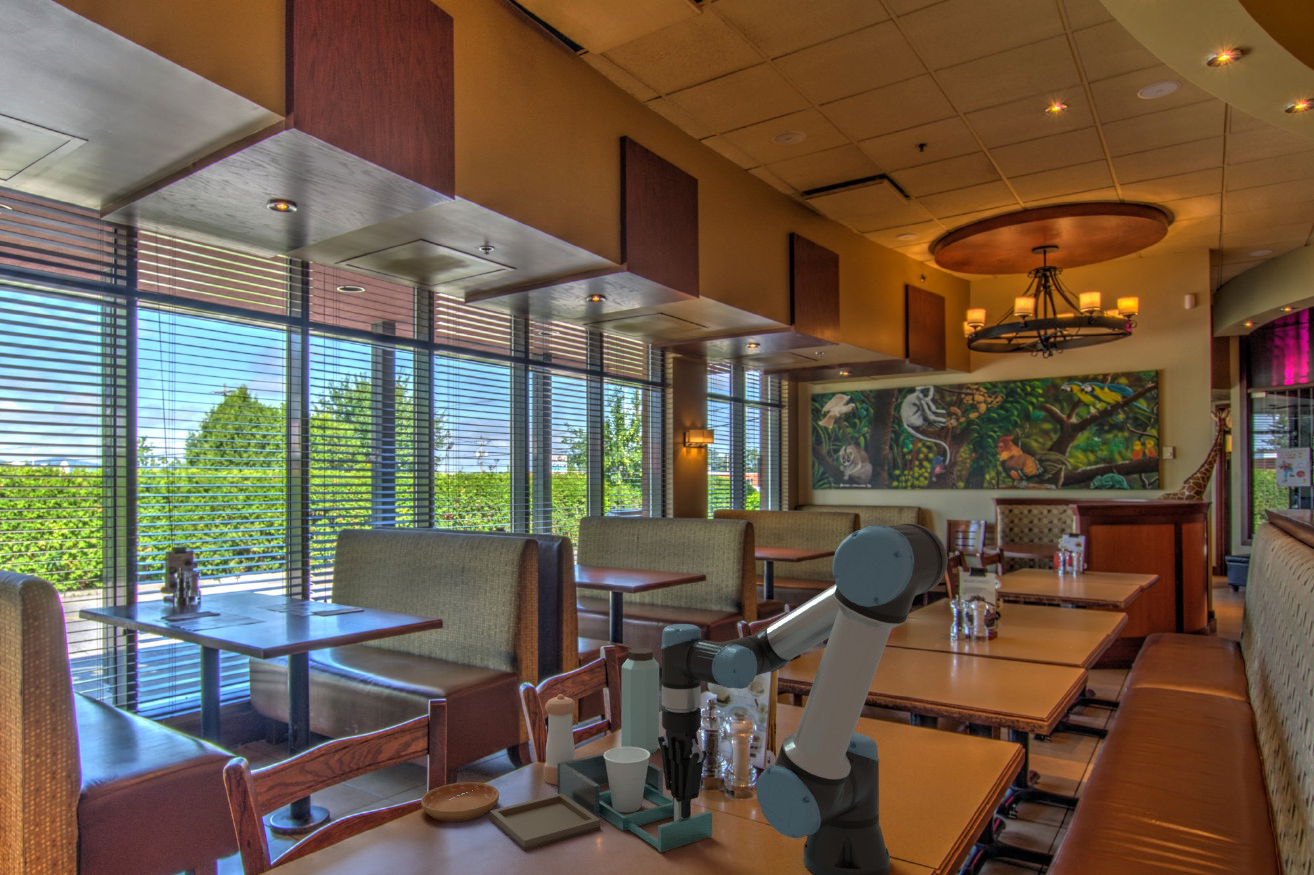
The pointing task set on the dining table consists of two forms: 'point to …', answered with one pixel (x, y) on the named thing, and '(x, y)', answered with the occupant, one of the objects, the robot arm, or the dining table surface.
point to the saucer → (460, 801)
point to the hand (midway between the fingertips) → (682, 832)
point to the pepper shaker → (559, 736)
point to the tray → (544, 821)
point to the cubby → (594, 780)
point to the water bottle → (640, 700)
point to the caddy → (667, 833)
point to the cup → (627, 777)
